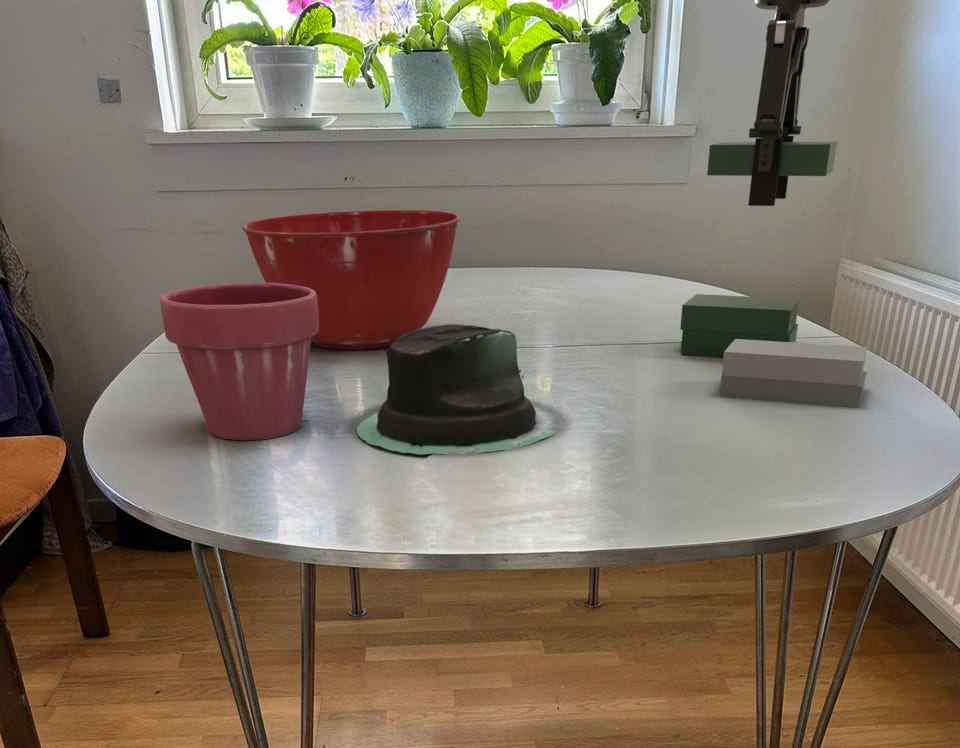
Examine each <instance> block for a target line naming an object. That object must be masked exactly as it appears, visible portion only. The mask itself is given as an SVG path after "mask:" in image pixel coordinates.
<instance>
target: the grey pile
mask: <svg viewBox="0 0 960 748" xmlns="http://www.w3.org/2000/svg"><path fill="white" fill-rule="evenodd" d="M867 349H868V347H867V346H856V345H855V346H852V345H841V344H839V345H837V344H825V343H824V344H823V343H807V342H796V343H792V342H776V341H761V340H745V339H735V340H734V341H733V342H732V343H731V345H730V346H729V347H728V348H727V349H726V350H725V351H724V357H722V358H723V359H722V368H721V376H720V385H719V386H720V387H719V395H718V396H719V397H726V398H738V399H750V400H764V401H774V402H784V403H785V402H787V403H797V404H798V403H799V404H809V405H810V404H811V405H820V406H821V405H822V406H832V407H846V408H857V409H859V408H860V406H861V402H862V397H863V394H864V390H865V384H866V378H867V372H868V371H865V370H864V366H865V361H866V355H867V351H868V350H867Z"/></svg>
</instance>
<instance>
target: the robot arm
mask: <svg viewBox="0 0 960 748" xmlns="http://www.w3.org/2000/svg"><path fill="white" fill-rule="evenodd" d="M829 2H830V0H754V5H755V6H756V8H758V9H761V10H770V11H771V10H772V11H775V10H776V11H775V14H774V19H772V20H769V21H768V24H767V26H766V35H765V54H764V60H763V67H762V74H761V81H760V86H759V87H760V88H759V95H758V96H759V97H758V101H757V109H756V116H755V121H754V122H753V127H752V128H750V127H749V132H748V138H749V139H755V141H754V142H755V151H754V159H753V168H752V176H750V178H751V180H750V185H749V186H750V187H749V194H748V195H749V196H748V207H750V206H751V207H775V205H776V199H777V200H785V199H787V191H788V184H789V177H790V176H778V174H779V166H780V158H781V150H782V142H794V137H795V136H800V135H801V132H802V125H798V123H799V120H798V115H799V107H800V97H801V85H802V77H803V69H804V67H805V59H806V49H807V46H808V44H809V40H810V28H808V26H804V25H805V13H806V10H807V9H809V8H810V9H814V8H820V7H824V6H827V4H829Z"/></svg>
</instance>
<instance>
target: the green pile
mask: <svg viewBox="0 0 960 748" xmlns="http://www.w3.org/2000/svg"><path fill="white" fill-rule="evenodd" d="M799 302H800V299H799V298H785V297H767V296H766V297H764V296H744V295H743V296H742V295H726V294H725V295H723V294H703V293H696V294H695V295H693V296H692V297H690V298H689V299H688V300H686V301H685V302H684V303H682V305H681V316H680V317H681V318H680V328H679V329H680V331H682V333H681V343H680V344H681V345H680V355H681V356H683V355H684V356H697V357H698V356H699V357H712V358H724V351H725V350H726V349H727V348H728V347H729V346H730V345H731V343H732V342H733V341H734V340H735V339H745V340H761V341H776V342H792V343H797V335H798V328H799V323H797V318H798V311H799V304H800V303H799Z"/></svg>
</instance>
